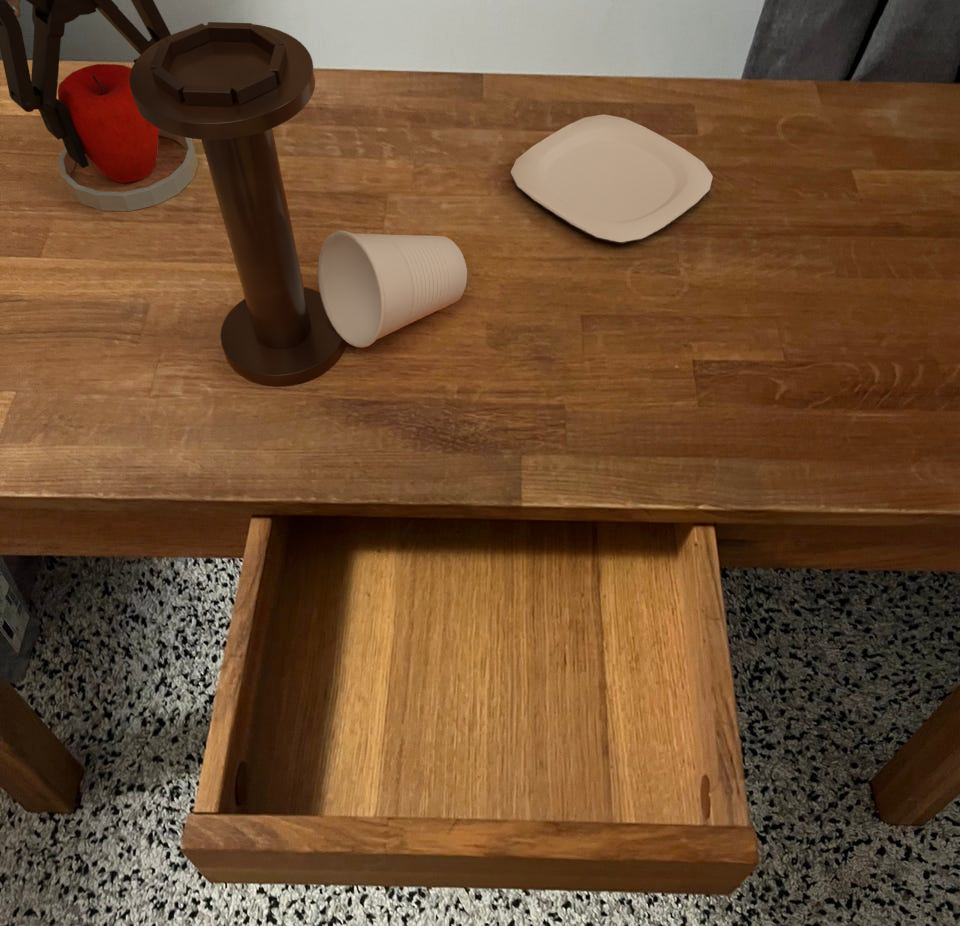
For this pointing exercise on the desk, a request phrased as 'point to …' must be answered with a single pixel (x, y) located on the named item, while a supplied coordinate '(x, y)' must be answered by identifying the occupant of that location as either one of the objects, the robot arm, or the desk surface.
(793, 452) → the desk surface
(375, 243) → the cup
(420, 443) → the desk surface
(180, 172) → the grey faceted ring
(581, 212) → the plate
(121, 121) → the apple
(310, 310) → the holder
